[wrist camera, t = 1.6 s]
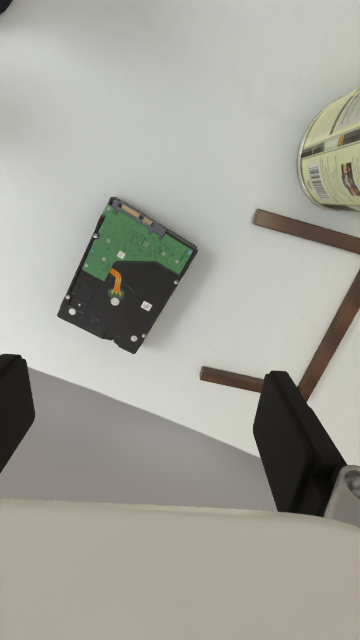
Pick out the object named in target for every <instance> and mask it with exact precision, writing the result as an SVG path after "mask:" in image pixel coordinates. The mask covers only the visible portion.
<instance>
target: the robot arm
mask: <svg viewBox="0 0 360 640" xmlns="http://www.w3.org/2000/svg"><path fill="white" fill-rule="evenodd" d="M34 418H35V410H34V404H33V398H32V392H31V386H30V381H29V374H28V368H27V362H26V360H25V359H22V357H21V355H15V354H2V355H1V356H0V473H1V471H2V470H3V468H4V467H5V465H6V464H7V462H8V460H9V459H10V458H11V456H12V454H13V453H14V451H15V450H16V448H17V446H18V445H19V444H20V442H21V440H22V439H23V437H24V436H25V434H26V433H27V431H28V430H29V428H30V427H31V425H32V424H33V422H34ZM253 434H254V438H255V441H256V444H257V447H258V450H259V453H260V457H261V459H262V463H263V466H264V469H265V472H266V475H267V479H268V482H269V485H270V488H271V491H272V494H273V497H274V501H275V504H276V507H277V510H278V512H273V511H272V512H271V511H258V510H243V509H226V508H205V507H186V506H166V505H145V504H124V503H100V502H78V501H54V500H27V499H2V498H0V640H360V466H356V465H347V464H346V462H345V460H344V459H343V457H342V456H341V454H340V453H339V451H338V449H337V448H336V446H335V445H334V443H333V441H332V440H331V438H330V437H329V435H328V434H327V432H326V430H325V429H324V427H323V426H322V424H321V422H320V421H319V419H318V418H317V416H316V415H315V413H314V411H313V410H312V409H311V408H310V407H309V406H308V405H307V403H306V401H305V400H304V398H303V397H302V395H301V393H300V392H299V390H298V389H297V387H296V385H295V384H294V382H293V381H292V379H291V377H290V376H289V374H288V373H287V372H286V371H271V372H270V374H266V375H265V378H264V382H263V386H262V390H261V395H260V399H259V403H258V407H257V412H256V416H255V420H254V424H253Z"/></svg>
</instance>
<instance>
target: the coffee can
mask: <svg viewBox="0 0 360 640" xmlns="http://www.w3.org/2000/svg"><path fill="white" fill-rule="evenodd" d="M297 168H298V169H297V172H298V176H299V180H300V184H301V186H302V188H303V190H304V192H305V194H306V195H307V196H308V198H309V199H310V200H311V201H313V202H314V203H315V204H316V205H318V206H320V207H322V208H325V209H328V210H336V211H340V210H346V211H359V212H360V86H359V87H358V88H356V89H354V90H353V91H351V92H349V93H348V94H346V95H344V96H342V97H340V98H338V99H336V100H334V101H333V102H331V103H330V104H329V105H327V106H326V107H325V108H324V109H323V110H322V111H321V112H320V113H319V114H318V115H317V116H316V117H315V119H314V120H313V121H312V123H311V124H310V125H309V127H308V129H307V131H306V133H305V135H304V137H303V140H302V142H301V145H300V149H299V153H298V162H297Z"/></svg>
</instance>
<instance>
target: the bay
mask: <svg viewBox="0 0 360 640" xmlns="http://www.w3.org/2000/svg"><path fill="white" fill-rule="evenodd" d="M253 224H256V225H259V226H263V227H266V228H270V229H273V230H277V231H280V232H284V233H287V234H291V235H294V236H298V237H302V238H305V239H309V240H312V241H316V242H319V243H323V244H326V245H330V246H333V247H337V248H340V249H344V250H348V251H351V252H355V253H358V254H360V238H357V237H353V236H350V235H346V234H343V233H340V232H336V231H333V230H329V229H326V228H322V227H319V226H315V225H312V224H308V223H305V222H302V221H298V220H295V219H291V218H288V217H284V216H281V215H277V214H274V213H270V212H267V211H264V210H260V209H257V211H256V214H255V217H254V220H253ZM359 308H360V271H359V273H358V275H357V277H356V279H355V280H354V282H353V284H352V286H351V288H350V290H349V292H348V294H347V295H346V297H345V299H344V301H343V303H342V305H341V307H340V309H339V311H338V312H337V314H336V316H335V318H334V320H333V322H332V324H331V326H330V327H329V329H328V331H327V333H326V335H325V337H324V339H323V341H322V343H321V344H320V346H319V348H318V350H317V352H316V354H315V356H314V358H313V359H312V361H311V363H310V365H309V367H308V369H307V371H306V373H305V375H304V376H303V378H302V380H301V382H300V384H299V386H298V387H297V389H298V390H299V392H300V393H301V395H302V397H303V398H304V400H305V401H306V402H307V401H308V399H309V397H310V395H311V394H312V392H313V390H314V388H315V386H316V385H317V383H318V381H319V379H320V378H321V376H322V374H323V372H324V370H325V369H326V367H327V365H328V363H329V362H330V360H331V358H332V356H333V354H334V353H335V351H336V349H337V347H338V346H339V344H340V342H341V340H342V338H343V337H344V335H345V333H346V331H347V330H348V328H349V326H350V324H351V322H352V321H353V319H354V317H355V315H356V314H357V312H358V310H359ZM200 380H203V381H208V382H212V383H217V384H222V385H226V386H231V387H236V388H240V389H245V390H249V391H254V392H259V393H261V390H262V386H263V382H264V380H263V379H258V378H253V377H249V376H244V375H240V374H235V373H231V372H226V371H222V370H217V369H213V368H208V367H204V366H203V367H202V370H201V372H200Z"/></svg>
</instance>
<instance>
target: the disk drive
mask: <svg viewBox="0 0 360 640" xmlns="http://www.w3.org/2000/svg"><path fill="white" fill-rule="evenodd" d="M197 251H198V250H197V247H196V246H195V245H193V244H192V243H190V242H188V241H187V240H185V239H184V238H182V237H180V236H179V235H177V234H175V233H174V232H172V231H171V230H169V229H167V228H166V227H164V226H162V225H161V224H159V223H157V222H156V221H154V220H153V219H151V218H149V217H148V216H146V215H145V214H143V213H141V212H140V211H138V210H136V209H135V208H133V207H132V206H130V205H128V204H127V203H125V202H123V201H122V200H120V199H119V198H117V197H111V198H110V201H109V203H108V205H107V206H106V208H105V211H104V213H103V214H102V215H101V217H100V219H99V221H98V223H97V226H96V229H95V231H94V234H93V236H92V238H91V240H90V242H89V245H88V247H87V249H86V251H85V253H84V255H83V258H82V260H81V262H80V265H79V267H78V269H77V271H76V273H75V276H74V278H73V280H72V282H71V285H70V287H69V289H68V291H67V294H66V296H65V297H64V299H63V301H62V303H61V306H60V309H59V312H58V314H57V316H58V317H59V318H61V319H63V320H65V321H67V322H70V323H71V324H74V325H76V326H78V327H80V328H82V329H84V330H86V331H88V332H90V333H91V334H94V335H96V336H98V337H100V338H102V339H107V340H112V339H113V340H114V342H115V343H116V344H117V345H118V346H119V347H120V348H122V349H124V350H126V351H128V352H130V353H132V354H135V353H136V352H137V350H138V349H139V347H140V346H141V344H142V343H143V341H144V339H145V337H146V336H147V334H148V332H149V331H150V329H151V328H152V326H153V324H154V322H155V321H156V319H157V317H158V316H159V314H160V313H161V311H162V309H163V308H164V306H165V304H166V303H167V301H168V299H169V298H170V296H171V295H172V293H173V291H174V289H175V288H176V287H177V285H178V283H179V281H180V280H181V278H182V277H183V275H184V274H185V272H186V271H187V269H188V268H189V265H190V263H191V262H192V260H193V259H194V257H195V255H196V253H197Z"/></svg>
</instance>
